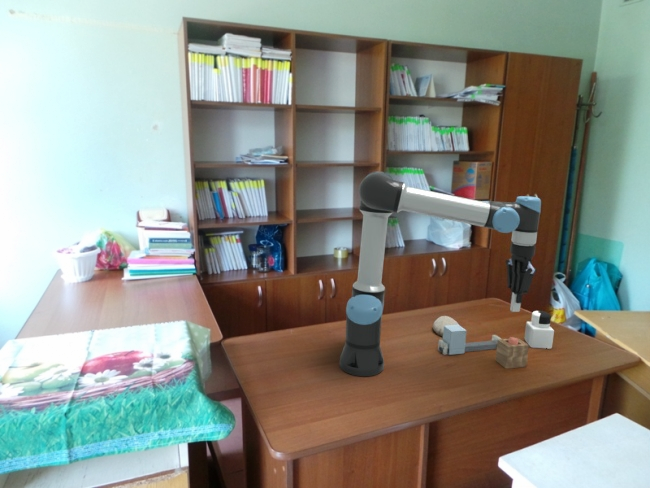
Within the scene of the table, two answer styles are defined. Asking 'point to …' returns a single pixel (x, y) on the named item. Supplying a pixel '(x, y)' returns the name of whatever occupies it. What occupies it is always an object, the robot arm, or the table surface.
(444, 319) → the stone
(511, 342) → the plunger
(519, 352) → the wooden box
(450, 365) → the table surface
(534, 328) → the container
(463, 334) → the carriage
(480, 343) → the rail
